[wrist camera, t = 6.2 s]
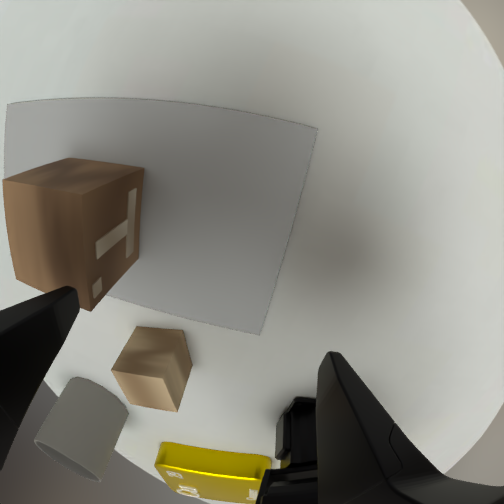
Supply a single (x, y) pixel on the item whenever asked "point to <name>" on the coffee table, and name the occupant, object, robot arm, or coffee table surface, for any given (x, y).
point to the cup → (83, 428)
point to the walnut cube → (74, 225)
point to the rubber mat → (184, 195)
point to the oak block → (154, 368)
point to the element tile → (211, 472)
